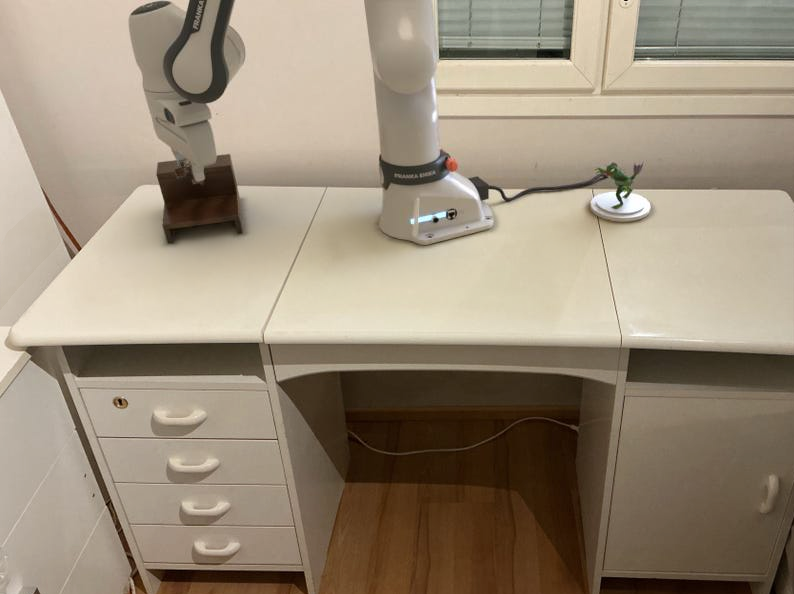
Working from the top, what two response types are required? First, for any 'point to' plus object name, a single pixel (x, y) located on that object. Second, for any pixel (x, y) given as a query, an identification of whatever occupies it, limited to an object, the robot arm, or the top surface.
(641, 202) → the frog figurine
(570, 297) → the top surface
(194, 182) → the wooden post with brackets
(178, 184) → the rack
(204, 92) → the robot arm
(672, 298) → the top surface
